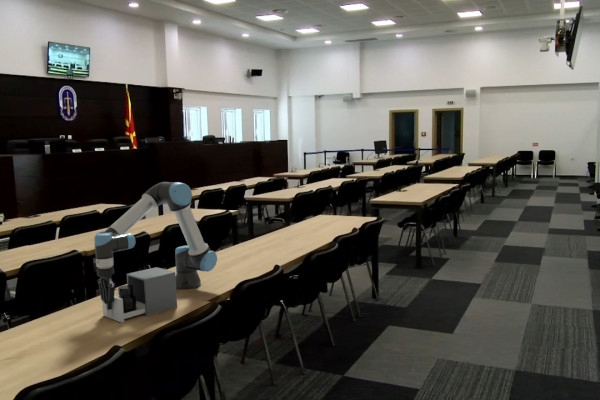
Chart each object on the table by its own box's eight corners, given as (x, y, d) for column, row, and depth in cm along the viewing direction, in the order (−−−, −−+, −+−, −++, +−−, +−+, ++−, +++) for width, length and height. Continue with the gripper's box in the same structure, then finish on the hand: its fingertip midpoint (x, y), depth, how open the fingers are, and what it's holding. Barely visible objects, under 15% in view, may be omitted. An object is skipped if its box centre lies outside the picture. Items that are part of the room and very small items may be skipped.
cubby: (158, 300, 280) (156, 267, 278) (177, 306, 269) (175, 272, 267) (128, 308, 268) (126, 273, 266) (147, 315, 256) (144, 279, 254)
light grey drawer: (135, 306, 270) (134, 285, 269) (153, 313, 259) (152, 290, 258) (103, 315, 258) (101, 292, 257) (121, 322, 246) (119, 299, 245)
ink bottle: (137, 307, 263) (136, 283, 262) (137, 312, 255) (136, 288, 254) (116, 309, 261) (115, 285, 259) (116, 315, 252) (114, 290, 251)
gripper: (90, 266, 250) (94, 315, 253) (104, 270, 241) (108, 321, 244) (105, 263, 255) (109, 311, 258) (119, 267, 246) (123, 316, 249)
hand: (108, 315), depth 251 cm, fingers closed
